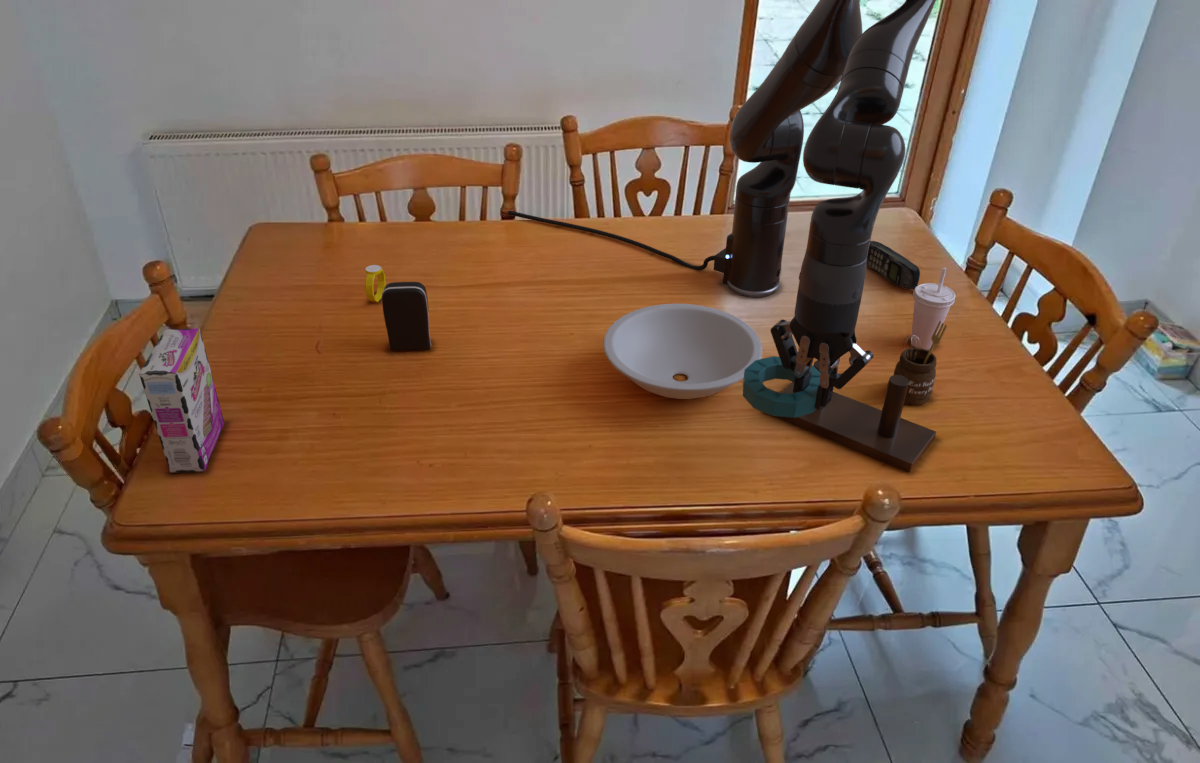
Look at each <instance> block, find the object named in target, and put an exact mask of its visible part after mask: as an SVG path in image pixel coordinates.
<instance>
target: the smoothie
mask: <svg viewBox="0 0 1200 763" xmlns="http://www.w3.org/2000/svg"><path fill="white" fill-rule="evenodd" d="M946 272H947V267H942V269H941V273H940V278H939V281H938V282H939V283H932V282H924V283H921V284H918V286H917V287H916V288H915V290H913V293H912V297H913V299H914V302H913V314H912V326H911V335H913V336H912V337H911V336H910V342H911V341H912V342H913V348H922V349H926V350H928V351H929V350H930V348H931V346H932V344H933V342H932V339H931V338H932V335H933V333H934V331H935V329H936V327H937V325H938V323H939V321H941V324H940V326H939V328H938V331H939V329H940V327H941V325H942V323H944V324H945V322H946V318H947V316H948V314H949V311H950V309H951V307H952V305H954V304H955V299H956V293H955V291H953V289H952V288H950V287H948V286H946V285H944V280H945V276H946ZM938 331H937V333H938ZM937 333H936V335H937ZM914 335H916V336H915V337H914ZM917 336H918V337H917ZM914 338H915V339H914ZM919 340H920V341H919ZM916 342H917V343H916Z"/></svg>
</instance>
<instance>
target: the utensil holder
mask: <svg viewBox="0 0 1200 763" xmlns="http://www.w3.org/2000/svg"><path fill="white" fill-rule="evenodd" d="M940 324H941V321H939V323H938V325H937V327H936V329H935V331H934V333H933V335H932V338H931V339H932V342H933V344H932V346H931V348H930V349H929V350H926V349H922V348H916V347H914V346H913V342H912V341H911V340H910V345H911V347H908V345H907V344H908V340H909V339H908V338H911V337H912V336H913V335H912V334H910V335H907V336H906V337H905V338H904V339H903V341H905V340H906V341H905V343H902V344H903V346H902V348H903V350H902V352H901V354H900V355H899V360H898V361H897V363H896V365H895V367H894V371H893V375H901V376H904V377H906V378H907V379H908V380H909V384H908V389H907V393H906V397H905V401H904V404H906V405H911V406H917V405H923V404H925V403H927V402H928V401H929V400H930V398H931V396H932V393H933V389H934V385H935V380H936V375H937V371H936V367H937V357H936V354H934V353H933V350H934V347H935V345H937V344H938V345H939V344H940V343H941V342H942V338H943V336H944V334H945V332H946V330H947V328H948V325H947V324H945V322H944V323H942V325H941V327H940V329H939V331H938V328H939V326H940ZM937 331H938V333H937ZM936 333H937V335H936ZM915 336H916V335H914V337H915ZM917 337H918V336H917ZM914 339H915V338H914ZM919 341H920V340H919ZM916 343H917V342H916ZM904 346H905V347H904ZM904 348H905V349H904Z"/></svg>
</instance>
